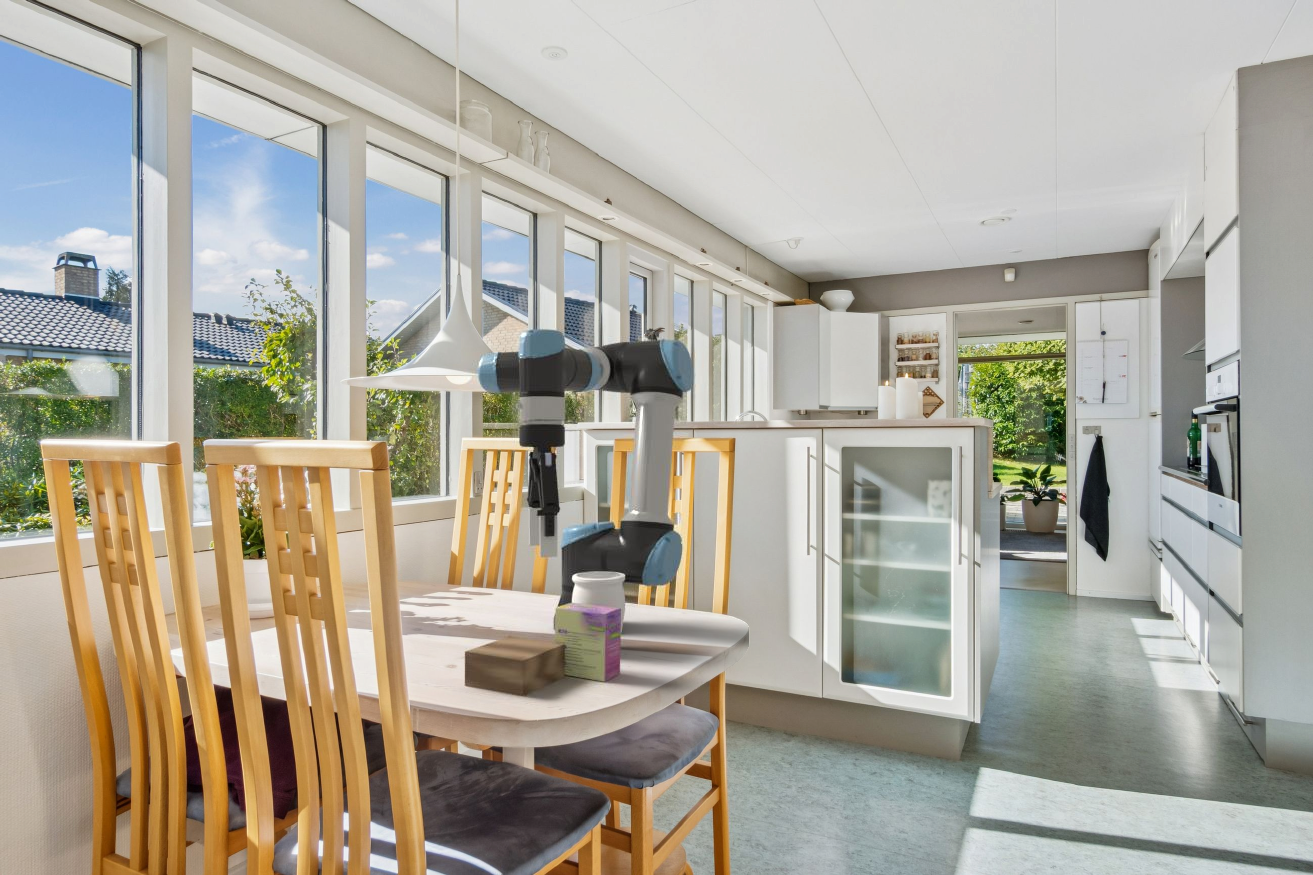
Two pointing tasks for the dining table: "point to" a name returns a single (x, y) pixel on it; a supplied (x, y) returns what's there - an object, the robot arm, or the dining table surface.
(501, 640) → the base block
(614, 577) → the jar
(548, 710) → the dining table surface
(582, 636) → the box
